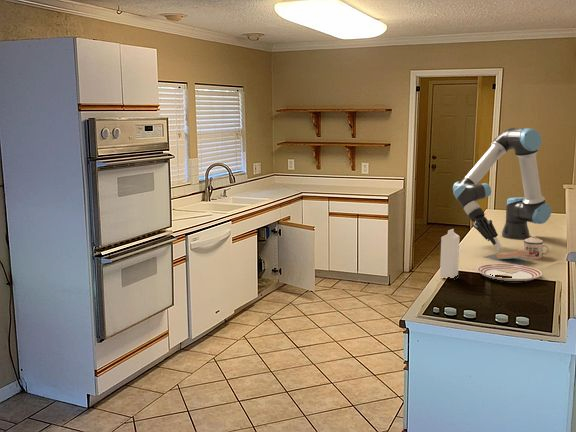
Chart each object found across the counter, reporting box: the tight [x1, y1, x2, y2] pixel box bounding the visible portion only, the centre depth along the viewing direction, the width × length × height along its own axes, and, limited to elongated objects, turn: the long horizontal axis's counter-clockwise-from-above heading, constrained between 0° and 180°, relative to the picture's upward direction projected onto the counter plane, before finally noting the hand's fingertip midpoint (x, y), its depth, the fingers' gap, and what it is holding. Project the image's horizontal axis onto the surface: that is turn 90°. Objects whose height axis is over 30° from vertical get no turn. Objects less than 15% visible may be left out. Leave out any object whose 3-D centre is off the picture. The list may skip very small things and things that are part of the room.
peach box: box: [495, 249, 529, 261], centre depth 287 cm, size 2×9×12 cm
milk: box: [439, 228, 461, 278], centre depth 261 cm, size 6×6×22 cm
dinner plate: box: [476, 263, 543, 282], centre depth 263 cm, size 28×27×3 cm
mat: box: [483, 253, 534, 266], centre depth 290 cm, size 20×12×1 cm, turn 35°
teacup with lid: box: [522, 234, 550, 260], centre depth 292 cm, size 12×9×12 cm
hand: (500, 249), depth 292 cm, fingers closed
